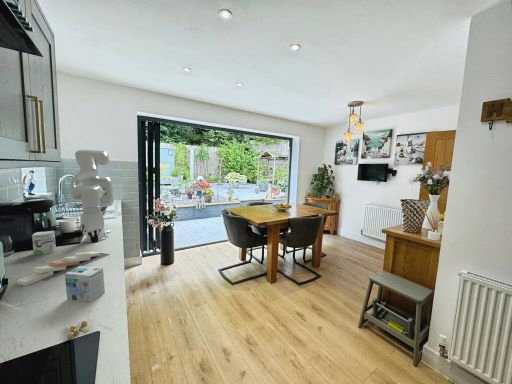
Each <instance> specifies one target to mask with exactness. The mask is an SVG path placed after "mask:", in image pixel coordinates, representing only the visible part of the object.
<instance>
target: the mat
mask: <svg viewBox="0 0 512 384" xmlns="http://www.w3.org/2000/svg"><path fill="white" fill-rule="evenodd" d="M98 252H99V253H101V255H100V256H93V257H91V258H90V260H85V261H80V263H79V264H78V265H70V266H66V270H59V271H53V275H51V276H48V277H46V278H43V279H41V280H40V281H43V282H48V281H50V280H51V279H54V278H57V277H59V276H61V275H65V273H67V272H69V271H71V270H73V269H75V268H77V267H79V266H87V265H88V264H91V263H93V262H96V261H98V260H101V259H104V258H105V257H108V256H110V255H111V254H110V253H106V252H100V251H98Z"/></svg>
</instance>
